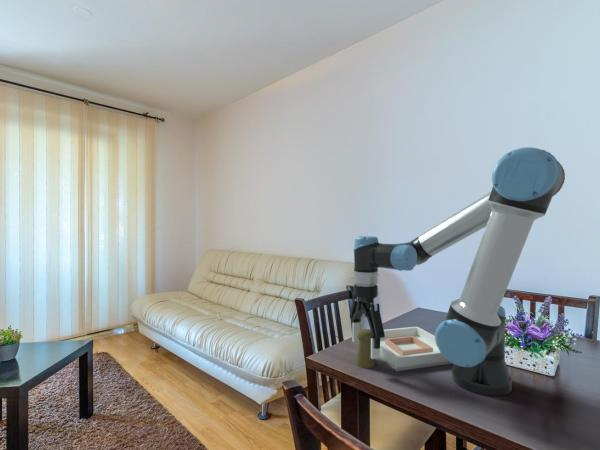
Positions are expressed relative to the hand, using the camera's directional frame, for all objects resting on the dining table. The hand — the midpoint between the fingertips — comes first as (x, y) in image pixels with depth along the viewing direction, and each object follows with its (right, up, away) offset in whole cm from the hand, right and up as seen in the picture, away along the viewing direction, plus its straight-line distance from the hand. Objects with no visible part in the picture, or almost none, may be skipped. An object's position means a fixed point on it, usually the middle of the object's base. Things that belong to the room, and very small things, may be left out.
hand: (365, 349), depth 105 cm
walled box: (+17, -5, +10) cm, 20 cm away
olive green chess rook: (0, -5, 0) cm, 5 cm away
